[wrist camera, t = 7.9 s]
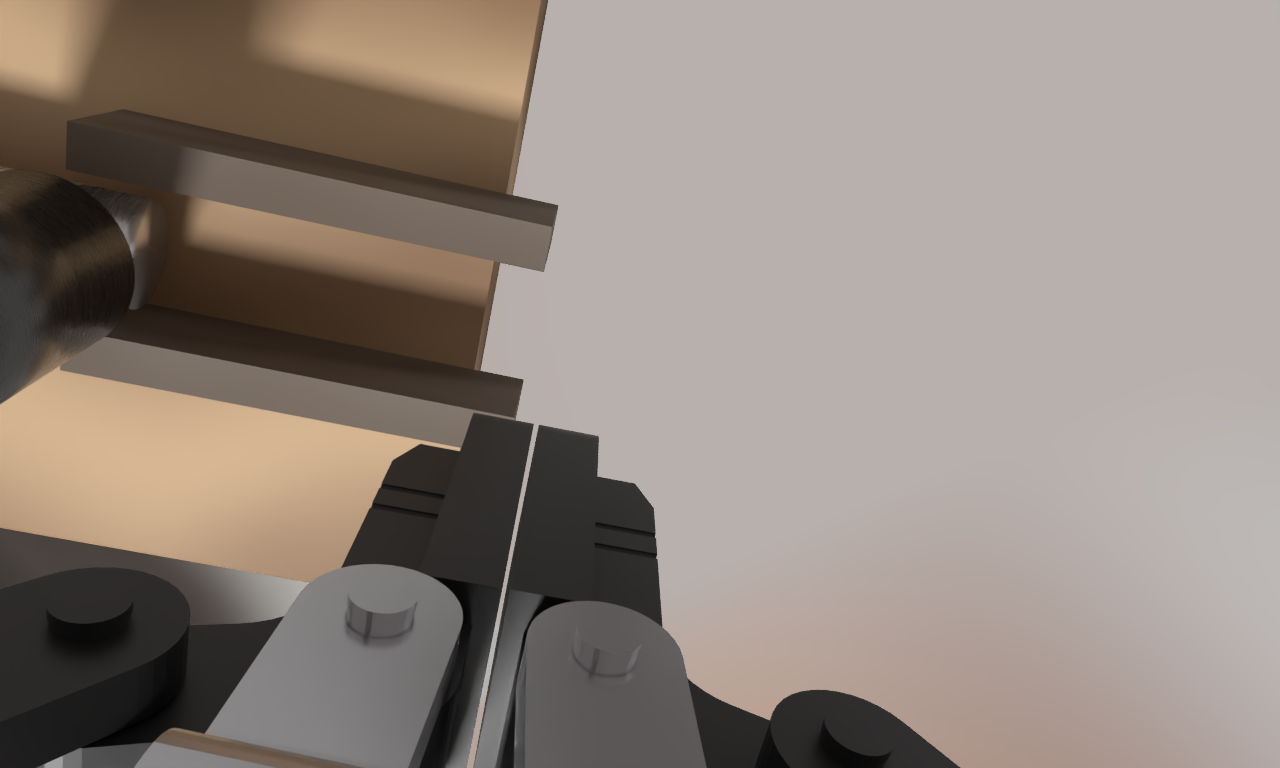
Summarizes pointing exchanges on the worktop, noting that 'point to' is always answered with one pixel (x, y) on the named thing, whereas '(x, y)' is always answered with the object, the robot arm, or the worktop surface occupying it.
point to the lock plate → (270, 260)
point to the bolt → (69, 268)
